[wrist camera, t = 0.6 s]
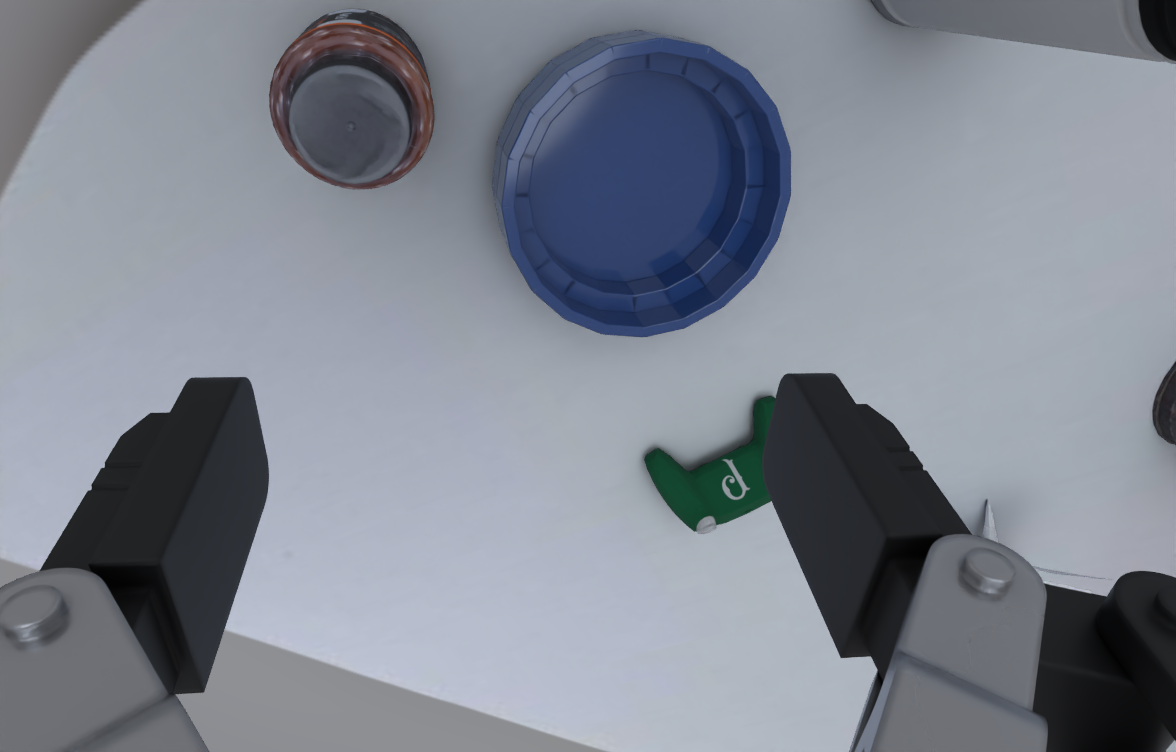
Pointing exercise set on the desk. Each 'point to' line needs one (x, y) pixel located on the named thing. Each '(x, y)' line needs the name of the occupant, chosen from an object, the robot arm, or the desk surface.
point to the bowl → (641, 182)
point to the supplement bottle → (353, 100)
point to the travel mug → (1052, 23)
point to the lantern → (1166, 408)
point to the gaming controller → (716, 480)
